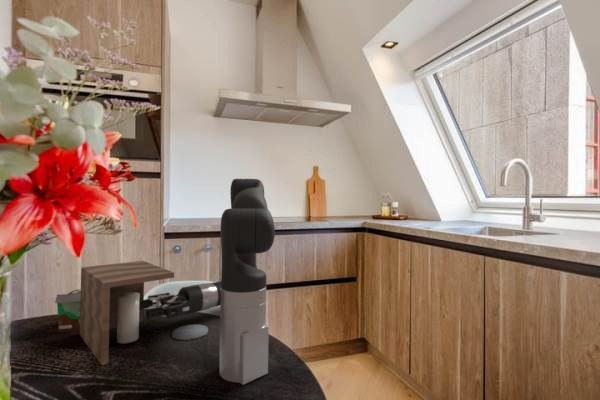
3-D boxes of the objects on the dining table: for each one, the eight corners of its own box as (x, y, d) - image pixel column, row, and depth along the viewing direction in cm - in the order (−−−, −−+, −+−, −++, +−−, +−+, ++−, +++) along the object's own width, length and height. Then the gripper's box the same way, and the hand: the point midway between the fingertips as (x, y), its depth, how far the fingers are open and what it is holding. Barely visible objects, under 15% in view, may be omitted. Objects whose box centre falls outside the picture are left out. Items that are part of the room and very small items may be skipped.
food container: (77, 334, 81) (78, 295, 81) (54, 334, 81) (55, 295, 81) (108, 317, 94) (108, 283, 94) (87, 316, 94) (88, 283, 94)
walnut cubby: (172, 343, 77) (174, 272, 77) (101, 365, 66) (103, 282, 66) (141, 319, 92) (142, 260, 92) (79, 334, 81) (81, 267, 81)
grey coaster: (214, 333, 83) (214, 331, 83) (181, 343, 77) (181, 341, 77) (198, 323, 90) (198, 321, 90) (166, 332, 83) (166, 330, 83)
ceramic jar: (141, 339, 79) (142, 295, 79) (120, 345, 76) (121, 299, 76) (135, 333, 82) (135, 291, 82) (114, 339, 79) (115, 294, 79)
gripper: (187, 280, 97) (130, 290, 86) (210, 289, 87) (149, 302, 76) (187, 304, 97) (129, 317, 86) (210, 317, 87) (148, 333, 76)
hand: (139, 310), depth 81 cm, fingers open, 8 cm apart
